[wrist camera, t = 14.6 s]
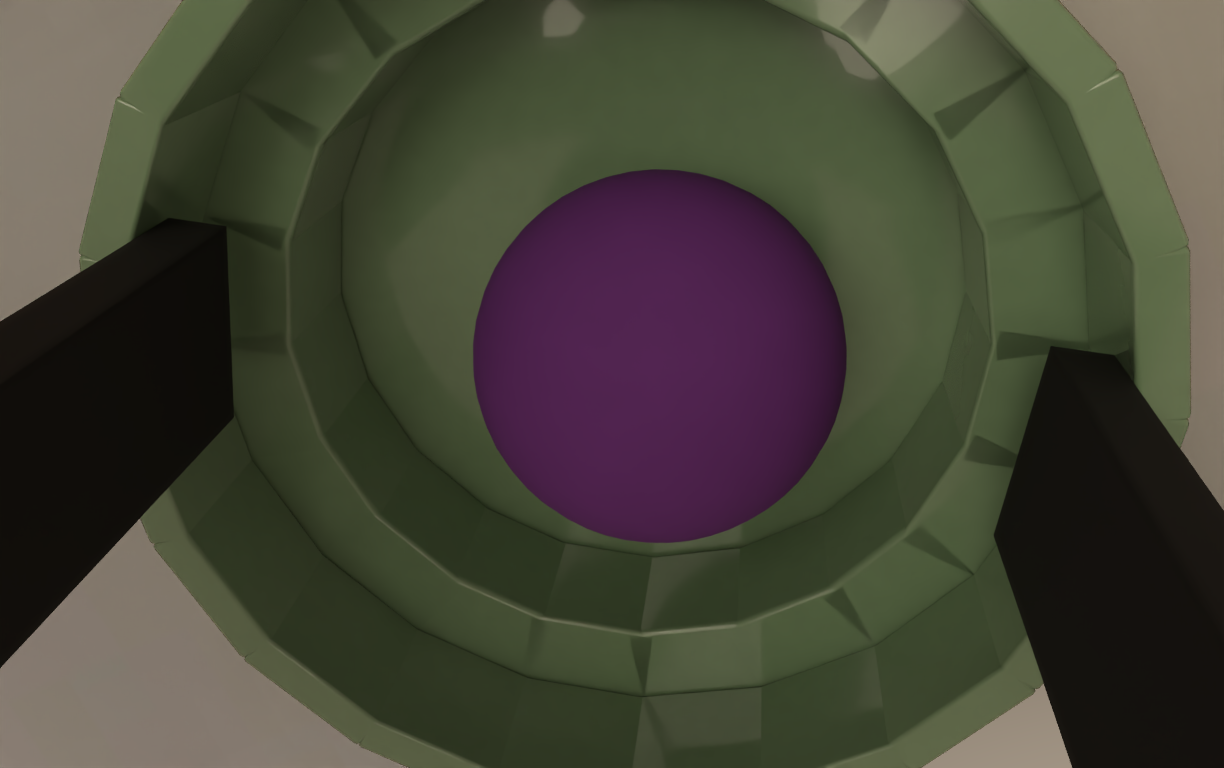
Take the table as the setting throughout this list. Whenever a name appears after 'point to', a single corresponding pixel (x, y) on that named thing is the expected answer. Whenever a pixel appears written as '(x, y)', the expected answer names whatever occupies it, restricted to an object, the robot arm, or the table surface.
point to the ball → (659, 356)
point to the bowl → (444, 378)
